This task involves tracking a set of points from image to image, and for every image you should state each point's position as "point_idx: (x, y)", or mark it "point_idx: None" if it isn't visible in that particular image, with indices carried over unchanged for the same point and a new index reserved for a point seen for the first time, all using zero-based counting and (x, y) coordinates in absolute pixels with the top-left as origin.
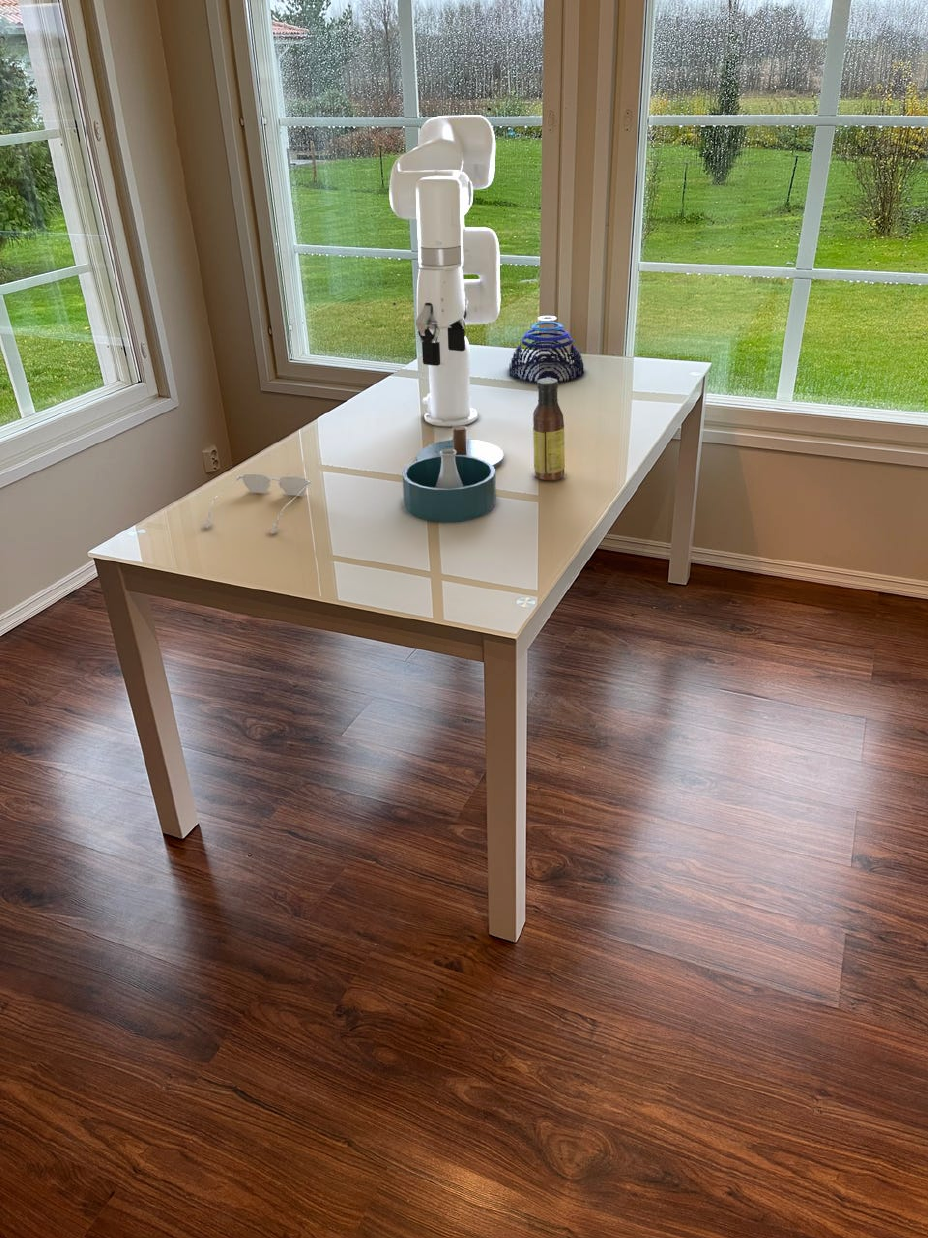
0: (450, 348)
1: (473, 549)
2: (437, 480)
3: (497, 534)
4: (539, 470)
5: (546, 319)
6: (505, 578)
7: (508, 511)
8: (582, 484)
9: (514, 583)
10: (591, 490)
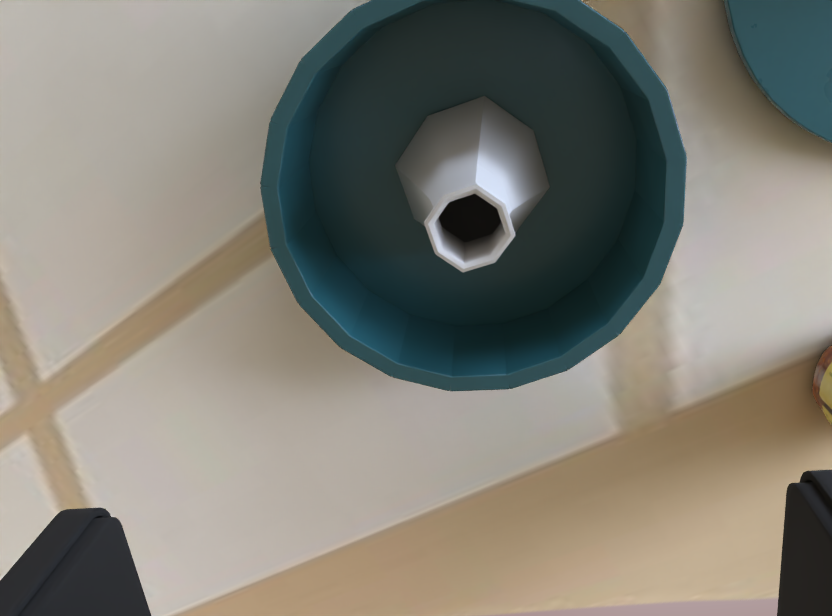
0: (790, 516)
1: (218, 417)
2: (439, 154)
3: (339, 430)
4: (827, 378)
5: None
6: (140, 551)
7: None
8: None
9: None
10: None
